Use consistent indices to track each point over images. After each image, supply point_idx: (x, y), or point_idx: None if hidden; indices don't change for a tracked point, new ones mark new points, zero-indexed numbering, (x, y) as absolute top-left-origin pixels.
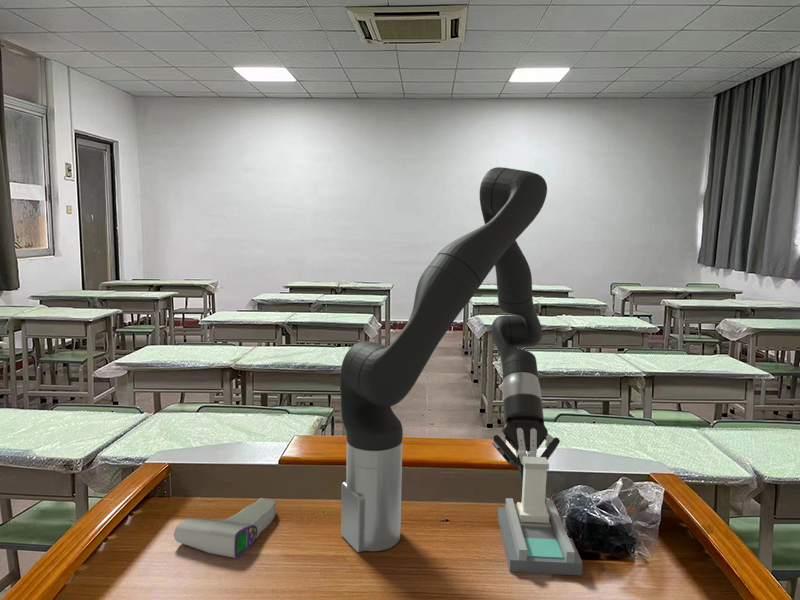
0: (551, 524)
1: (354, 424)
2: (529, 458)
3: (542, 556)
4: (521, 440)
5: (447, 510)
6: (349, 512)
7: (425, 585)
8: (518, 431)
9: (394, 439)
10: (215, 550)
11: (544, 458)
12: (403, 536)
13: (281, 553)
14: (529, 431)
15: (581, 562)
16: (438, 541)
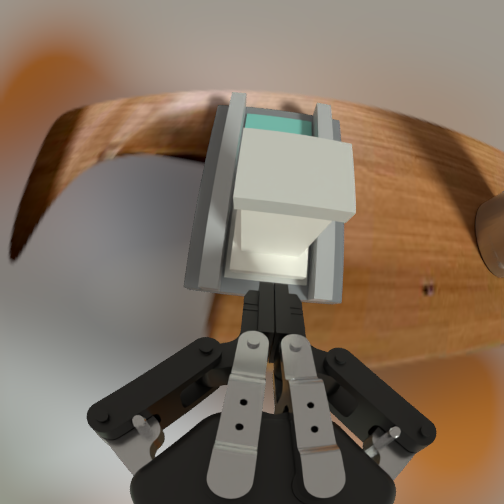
0: (229, 218)
1: None
2: (325, 186)
3: (283, 118)
4: (310, 433)
5: (422, 328)
6: None
7: (430, 132)
8: (334, 473)
9: None
10: None
11: (245, 182)
12: (472, 238)
13: None
14: (250, 492)
15: (218, 107)
16: (434, 220)
